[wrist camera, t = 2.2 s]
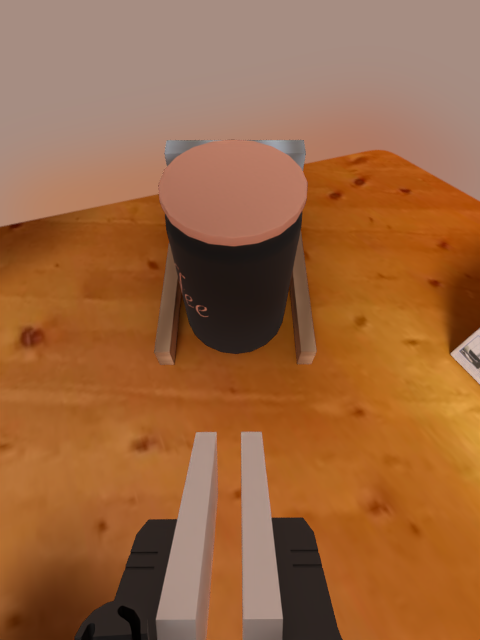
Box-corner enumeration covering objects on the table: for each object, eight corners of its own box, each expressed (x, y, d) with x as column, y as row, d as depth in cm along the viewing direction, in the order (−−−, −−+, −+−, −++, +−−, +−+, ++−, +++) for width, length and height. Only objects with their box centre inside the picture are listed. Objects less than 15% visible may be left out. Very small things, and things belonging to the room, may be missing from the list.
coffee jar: (191, 279, 43) (164, 139, 28) (278, 278, 43) (300, 137, 28) (186, 359, 38) (148, 238, 22) (286, 358, 38) (318, 236, 22)
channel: (160, 364, 37) (136, 314, 29) (179, 208, 50) (166, 140, 41) (311, 364, 37) (332, 313, 29) (292, 207, 50) (303, 140, 41)
